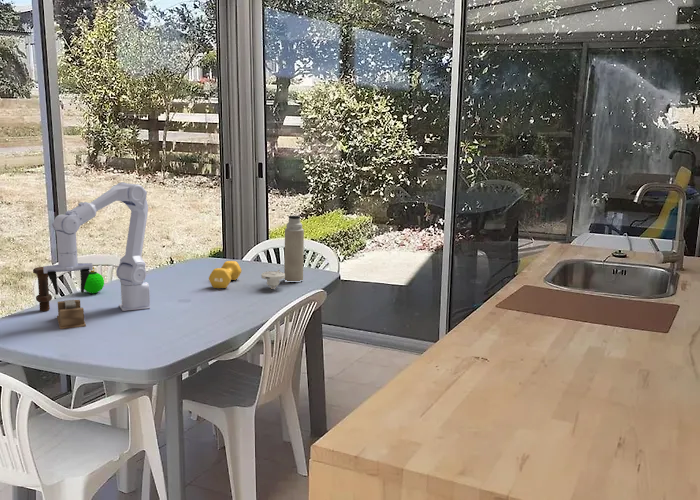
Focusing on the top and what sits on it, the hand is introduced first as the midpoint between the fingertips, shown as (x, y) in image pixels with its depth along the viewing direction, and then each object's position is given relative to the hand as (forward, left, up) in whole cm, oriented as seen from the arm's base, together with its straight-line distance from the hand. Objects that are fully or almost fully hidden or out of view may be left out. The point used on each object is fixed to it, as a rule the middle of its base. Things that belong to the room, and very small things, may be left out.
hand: (69, 292), depth 212 cm
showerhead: (-77, -17, -10) cm, 79 cm away
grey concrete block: (0, 0, -9) cm, 9 cm away
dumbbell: (-62, -32, -10) cm, 70 cm away
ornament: (-11, -35, -10) cm, 38 cm away
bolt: (+7, -17, -10) cm, 21 cm away
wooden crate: (0, 0, -10) cm, 10 cm away
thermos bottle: (-90, -27, -10) cm, 94 cm away
